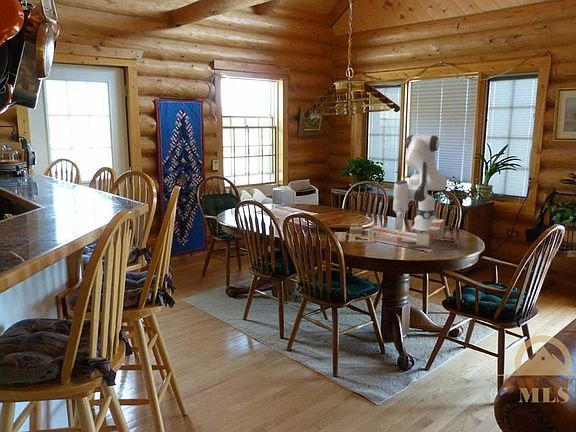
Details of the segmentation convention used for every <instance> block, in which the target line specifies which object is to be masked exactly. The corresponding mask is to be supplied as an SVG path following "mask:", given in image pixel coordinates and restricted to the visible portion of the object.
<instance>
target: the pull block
mask: <svg viewBox="0 0 576 432" xmlns="http://www.w3.org/2000/svg"><path fill="white" fill-rule="evenodd" d="M408 243H410V244H417V245H423V246H429V234H428V233H416V239H415V241H409V240H408V241H406V240H405V241H403V236H396V244H398V245H400V244H401V245H402V244H408Z"/></svg>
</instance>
